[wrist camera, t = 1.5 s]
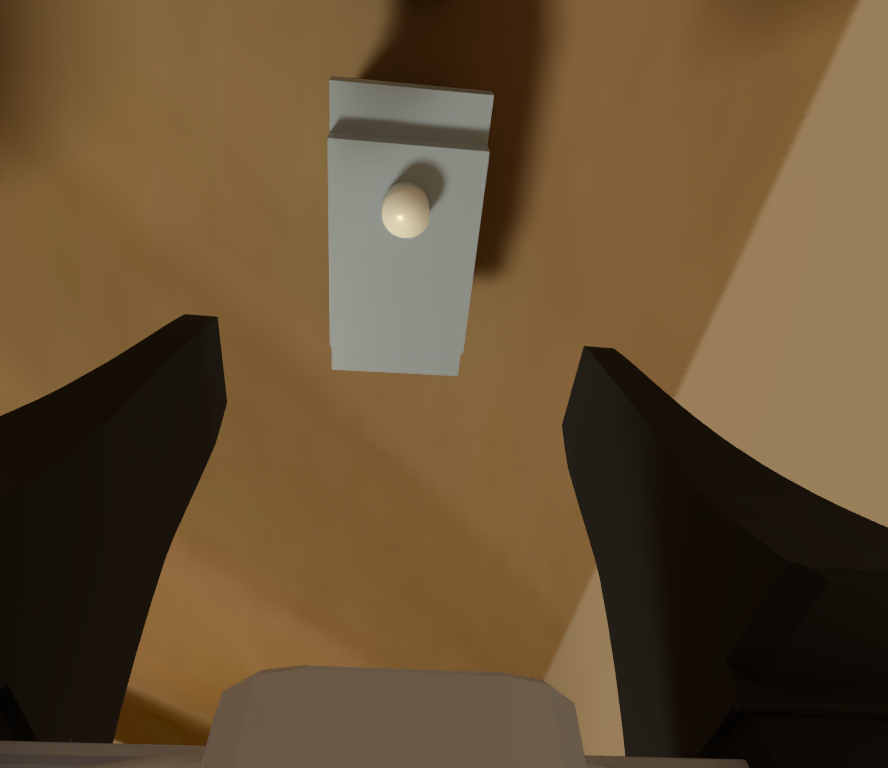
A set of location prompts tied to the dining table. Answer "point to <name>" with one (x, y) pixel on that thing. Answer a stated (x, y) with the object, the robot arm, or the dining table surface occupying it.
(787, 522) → the robot arm
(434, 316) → the block
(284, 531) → the dining table surface
